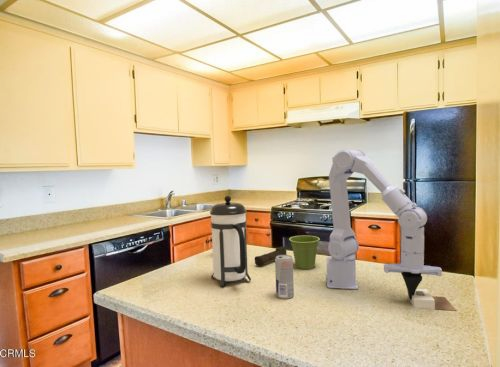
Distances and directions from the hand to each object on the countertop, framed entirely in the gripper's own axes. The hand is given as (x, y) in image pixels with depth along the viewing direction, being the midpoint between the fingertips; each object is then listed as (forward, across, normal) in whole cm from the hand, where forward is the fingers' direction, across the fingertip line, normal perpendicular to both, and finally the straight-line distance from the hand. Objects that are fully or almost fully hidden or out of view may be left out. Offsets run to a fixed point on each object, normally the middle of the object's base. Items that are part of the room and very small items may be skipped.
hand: (411, 298), depth 92 cm
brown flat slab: (+1, +7, 0) cm, 7 cm away
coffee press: (+3, -55, +9) cm, 56 cm away
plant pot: (+2, -32, +29) cm, 43 cm away
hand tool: (+6, -48, +30) cm, 57 cm away
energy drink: (+2, -36, -1) cm, 36 cm away
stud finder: (+1, +2, 0) cm, 2 cm away
